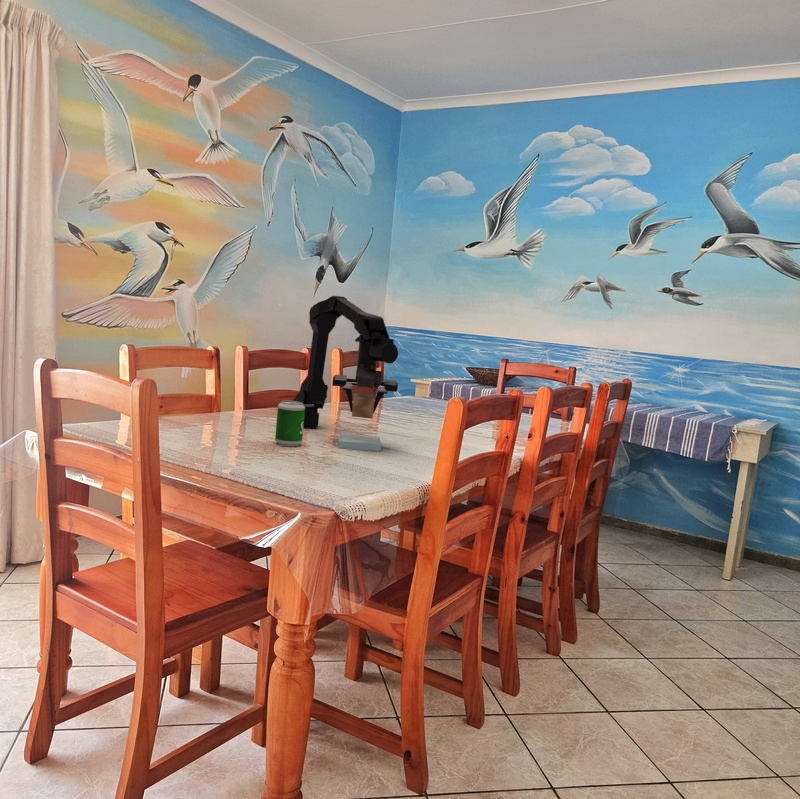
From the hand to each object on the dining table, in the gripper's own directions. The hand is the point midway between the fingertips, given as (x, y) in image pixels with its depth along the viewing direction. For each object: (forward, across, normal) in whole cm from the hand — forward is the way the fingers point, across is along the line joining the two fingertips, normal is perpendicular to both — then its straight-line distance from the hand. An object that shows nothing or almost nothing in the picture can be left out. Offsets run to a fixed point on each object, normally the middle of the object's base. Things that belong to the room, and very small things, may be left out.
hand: (362, 412), depth 202 cm
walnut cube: (+1, 0, 0) cm, 1 cm away
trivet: (+10, 0, 0) cm, 10 cm away
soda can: (+10, -20, -7) cm, 24 cm away
